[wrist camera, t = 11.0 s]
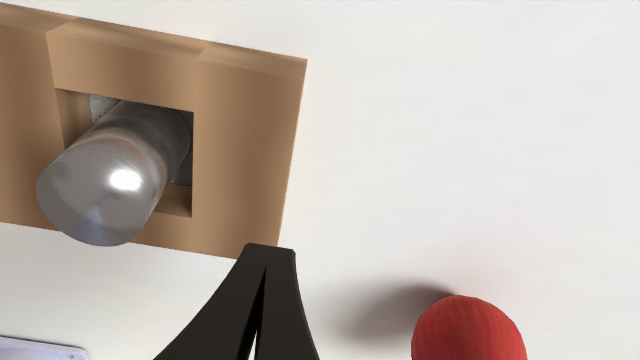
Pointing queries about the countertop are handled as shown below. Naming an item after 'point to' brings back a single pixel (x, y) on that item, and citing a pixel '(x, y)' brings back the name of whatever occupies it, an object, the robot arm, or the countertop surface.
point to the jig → (161, 90)
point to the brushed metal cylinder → (114, 173)
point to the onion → (466, 332)
